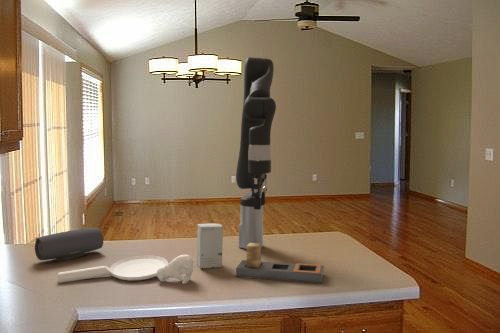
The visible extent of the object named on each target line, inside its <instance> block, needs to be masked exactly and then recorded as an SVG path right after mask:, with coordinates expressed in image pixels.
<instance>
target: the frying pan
mask: <svg viewBox="0 0 500 333" xmlns="http://www.w3.org/2000/svg"><path fill="white" fill-rule="evenodd" d="M168 264H169V262H168V260H167V259H166V258H165V257H162V256H159V255H151V254H148V255H147V254H144V255H143V254H141V255H134V256H129V257H125V258H122V259H120V260H118V261H115V262H114V263H113V264H111V265H110V267H108V266H107V265H101V266H93V267H88V268H81V269H73V270H67V271H62V272H61V271H60V272H58V273H57V278H58V279H57V280H58V284H62V283H69V282H74V281H83V280H87V279H94V278H95V279H96V278H100V277H101V278H102V277H107V276H112V277H114V278H116V279H119V280H122V281H128V282H130V281H132V282H133V281H144V280H150V279H152V278H155V277H157V270H158V269H159V268H161V267H165V266H166V265H168Z"/></svg>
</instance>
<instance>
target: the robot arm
mask: <svg viewBox="0 0 500 333" xmlns="http://www.w3.org/2000/svg"><path fill="white" fill-rule="evenodd" d="M274 69H275V68H274V62H273V60H272V59H269V58H265V57H264V58H263V57H251V56H249V57H247V58H246V59H245V61H244V70H243V71H244V72H243V102H242V103H243V104H242V112H241V124H240V143H239V144H240V146H239V153H238V160H237V164H236V165H237V166H236V173H235V179H236V185H237V186H238V188H240V189H242V190H248V189H250V191H249V192H248V193H247V194H245V195H243V196H242V197H241V198H240V201H239V202H240V203H239V204H240V205H239V206H240V209H239V211H240V214H239V216H240V217H239V218H240V219H239V224H238V248H240V249H241V248H242V249H244V250H245V249H246V250H247V245H248V244H249V243H261V249H262V248H263V246H264V206H265V205H266V193H267V190H268V189H267V186H268V183H267V181H268V180H267V177H268V176H267V174H270V173H271V172H272V149H271V148H272V147H271V131H272V130H271V129H272V125H273V121H274V117H275V114H276V110H277V103H276V102H275V100H274V99H273V98H272V97H271V86H272V84H273V79H274V72H275V71H274Z"/></svg>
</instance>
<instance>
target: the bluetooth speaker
mask: <svg viewBox="0 0 500 333" xmlns="http://www.w3.org/2000/svg"><path fill="white" fill-rule="evenodd" d="M103 236H104V235H103V233H102V230H101V229H100V228H99V227H89V228H82V229H81V228H80V229H74V230H73V229H72V230H67V231H62V232H55V233H52V234H48V235H42V236H39V237H37V238H36V239H35V243H34V251H35V252H34V253H35V256H36V258H37V259H38V260H39V261H49V260H56V261H65V260H70V259H75V258H79V257H83V256H85V254H86V253H89V252H93V251H96V250H100V249H102V248H103V247H104V237H103Z"/></svg>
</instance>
